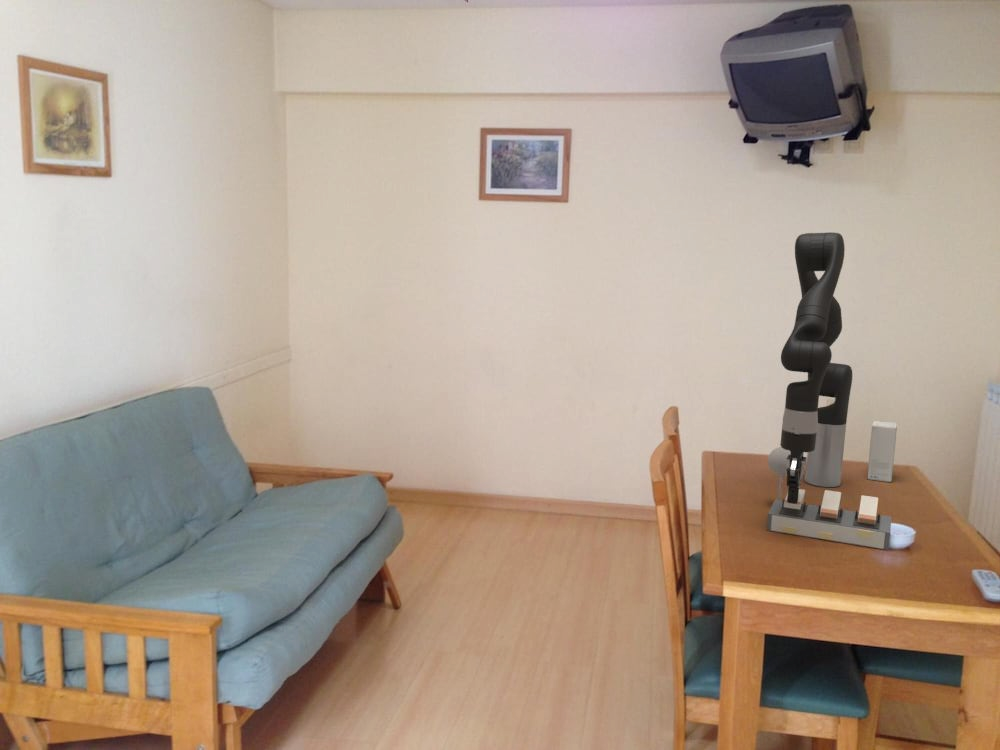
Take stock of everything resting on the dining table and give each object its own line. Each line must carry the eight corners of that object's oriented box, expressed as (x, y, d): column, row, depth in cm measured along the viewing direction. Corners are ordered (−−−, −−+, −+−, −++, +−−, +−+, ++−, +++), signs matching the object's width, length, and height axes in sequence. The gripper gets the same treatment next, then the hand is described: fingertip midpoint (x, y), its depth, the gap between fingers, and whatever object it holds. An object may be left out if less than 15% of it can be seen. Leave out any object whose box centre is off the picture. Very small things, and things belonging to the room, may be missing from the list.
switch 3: (861, 499, 209) (861, 495, 208) (877, 501, 208) (878, 497, 207) (857, 521, 202) (858, 517, 201) (875, 524, 200) (875, 520, 200)
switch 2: (824, 494, 212) (824, 489, 212) (840, 496, 211) (841, 492, 210) (820, 516, 205) (820, 511, 204) (836, 518, 204) (837, 514, 203)
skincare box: (891, 483, 251) (897, 428, 248) (865, 479, 253) (871, 425, 251) (892, 475, 258) (898, 422, 255) (867, 472, 261) (873, 419, 258)
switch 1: (789, 492, 216) (789, 487, 215) (804, 494, 214) (805, 489, 214) (783, 507, 208) (784, 502, 208) (800, 509, 206) (800, 504, 206)
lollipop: (795, 510, 224) (800, 452, 221) (765, 508, 225) (770, 449, 222) (791, 502, 230) (797, 445, 228) (763, 499, 232) (767, 442, 229)
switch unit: (773, 515, 220) (775, 491, 219) (889, 533, 209) (892, 508, 208) (766, 530, 208) (768, 505, 207) (888, 550, 198) (891, 524, 197)
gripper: (785, 421, 212) (779, 493, 215) (778, 431, 200) (771, 507, 203) (819, 425, 209) (812, 498, 212) (813, 436, 197) (806, 512, 200)
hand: (792, 502), depth 207 cm, fingers closed
